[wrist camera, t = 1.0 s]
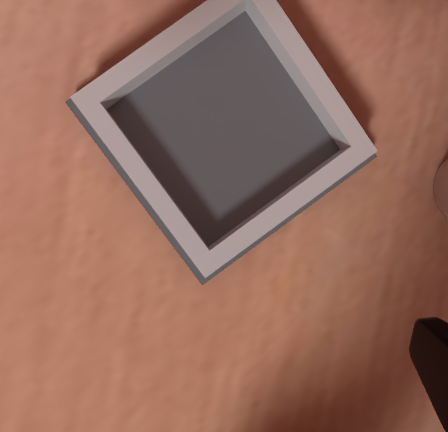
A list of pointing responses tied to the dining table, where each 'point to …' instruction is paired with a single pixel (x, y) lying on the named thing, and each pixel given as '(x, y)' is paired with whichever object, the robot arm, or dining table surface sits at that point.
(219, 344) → the dining table surface
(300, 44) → the dock
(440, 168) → the peg
